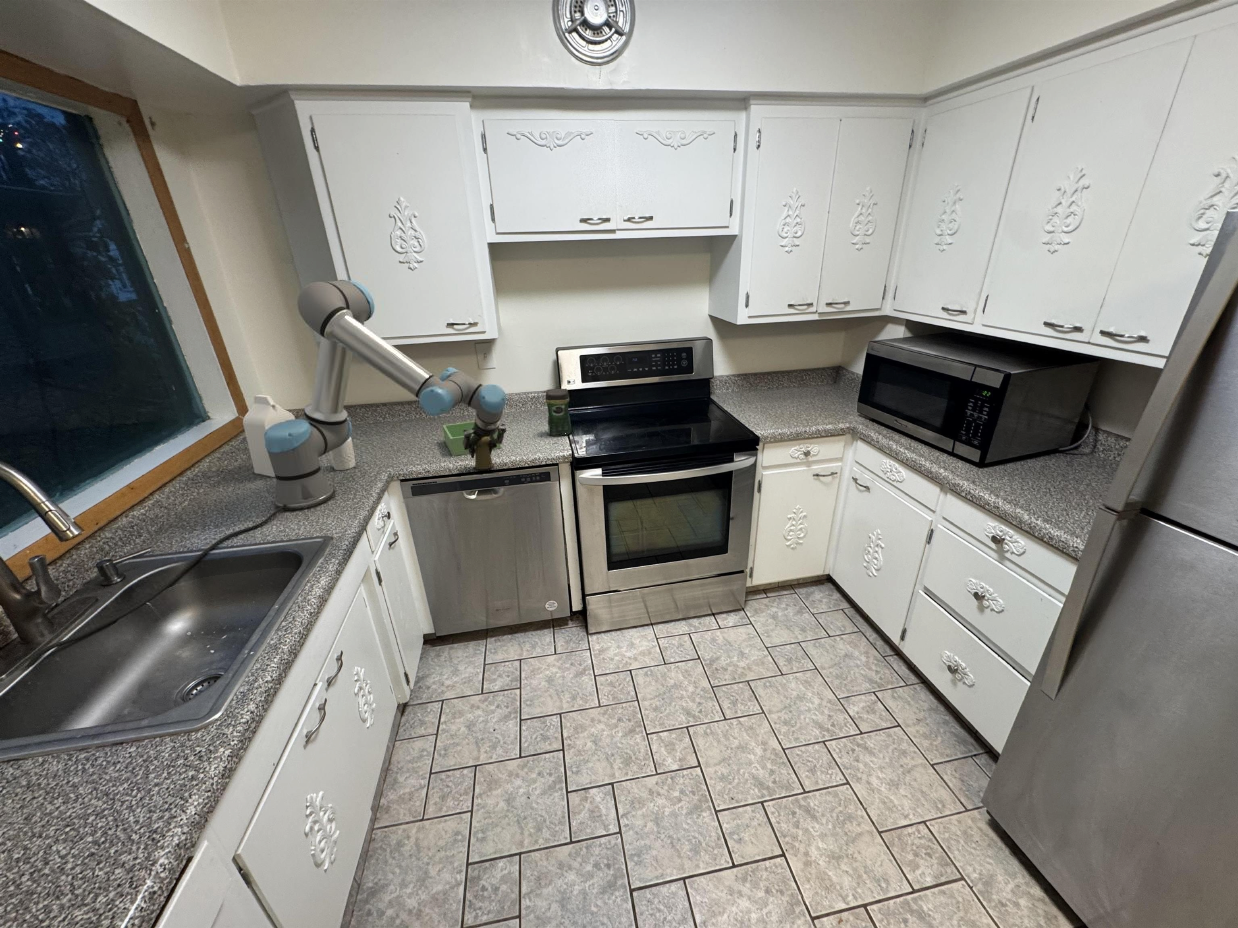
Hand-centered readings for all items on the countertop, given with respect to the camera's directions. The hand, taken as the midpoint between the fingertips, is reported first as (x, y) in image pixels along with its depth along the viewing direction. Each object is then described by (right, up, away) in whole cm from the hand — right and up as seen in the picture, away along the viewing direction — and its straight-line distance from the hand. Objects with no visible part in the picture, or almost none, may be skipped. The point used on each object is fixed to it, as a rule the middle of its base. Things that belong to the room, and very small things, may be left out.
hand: (480, 453), depth 175 cm
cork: (+2, -5, -2) cm, 5 cm away
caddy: (-9, +4, +20) cm, 22 cm away
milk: (-68, -6, -1) cm, 68 cm away
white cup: (-47, -5, 0) cm, 48 cm away
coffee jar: (+24, +9, +32) cm, 41 cm away
